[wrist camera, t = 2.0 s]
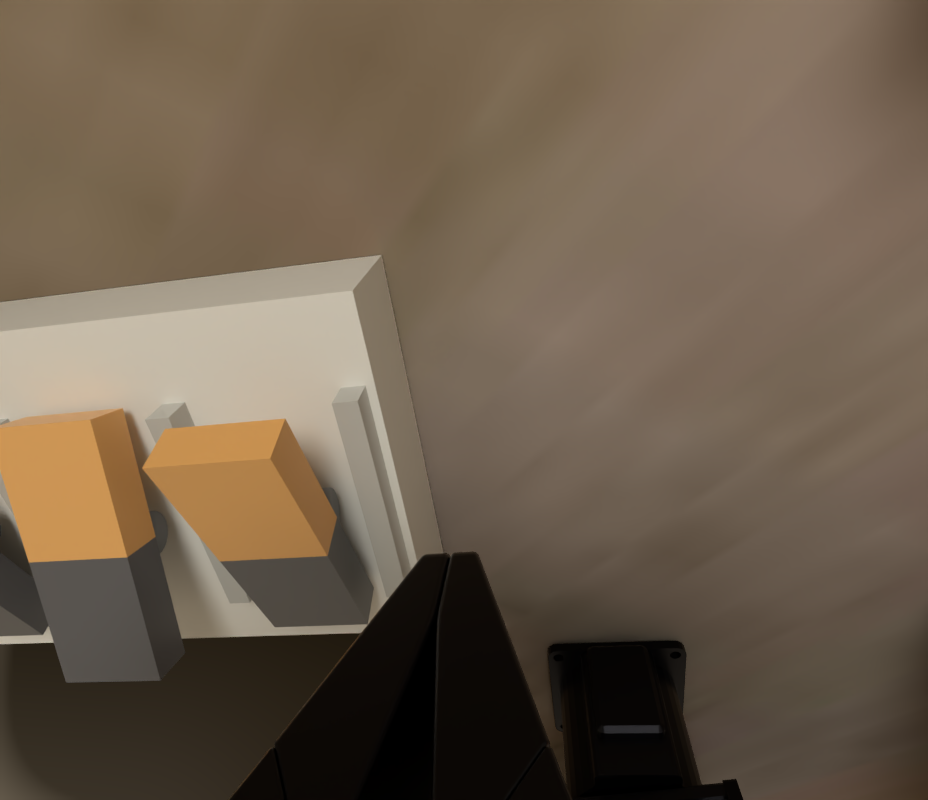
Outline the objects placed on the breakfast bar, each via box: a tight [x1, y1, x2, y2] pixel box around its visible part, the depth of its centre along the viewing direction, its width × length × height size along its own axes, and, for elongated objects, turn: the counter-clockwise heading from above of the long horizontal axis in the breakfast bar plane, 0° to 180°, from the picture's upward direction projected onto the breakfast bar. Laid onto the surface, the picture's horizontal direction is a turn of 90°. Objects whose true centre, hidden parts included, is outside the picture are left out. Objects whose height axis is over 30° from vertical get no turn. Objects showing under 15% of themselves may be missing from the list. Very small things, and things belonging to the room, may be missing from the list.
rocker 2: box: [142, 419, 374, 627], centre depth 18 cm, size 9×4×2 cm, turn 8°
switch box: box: [0, 255, 444, 644], centre depth 22 cm, size 14×20×5 cm
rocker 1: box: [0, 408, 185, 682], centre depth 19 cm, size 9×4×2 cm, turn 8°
